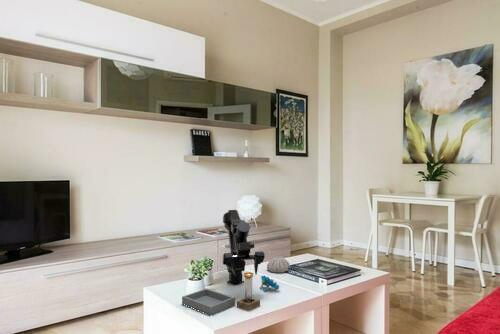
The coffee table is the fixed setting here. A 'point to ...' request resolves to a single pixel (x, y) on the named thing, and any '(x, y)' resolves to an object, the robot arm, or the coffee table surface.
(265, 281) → the blue irregular piece
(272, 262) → the sea urchin shell
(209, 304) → the tray
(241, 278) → the robot arm
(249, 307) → the socket block
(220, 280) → the coffee table surface
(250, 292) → the grey tall cylinder
